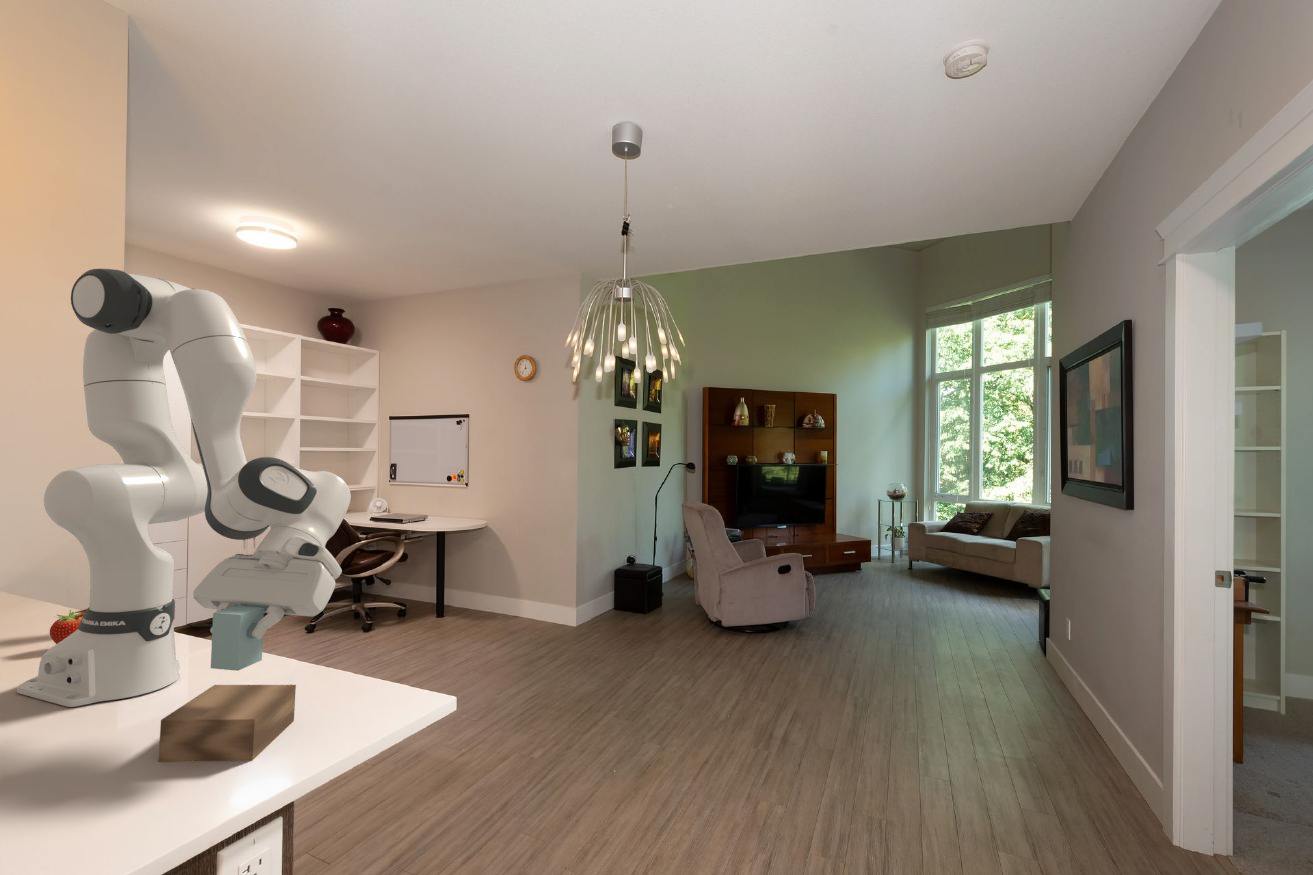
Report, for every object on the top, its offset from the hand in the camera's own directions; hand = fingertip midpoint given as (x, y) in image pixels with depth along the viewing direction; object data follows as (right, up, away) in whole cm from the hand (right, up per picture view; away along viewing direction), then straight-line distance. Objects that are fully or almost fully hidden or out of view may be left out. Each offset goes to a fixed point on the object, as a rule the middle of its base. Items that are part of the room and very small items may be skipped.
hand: (234, 635), depth 88 cm
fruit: (-56, -14, +32) cm, 66 cm away
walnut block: (-1, -16, 0) cm, 16 cm away
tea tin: (0, -4, +1) cm, 4 cm away
